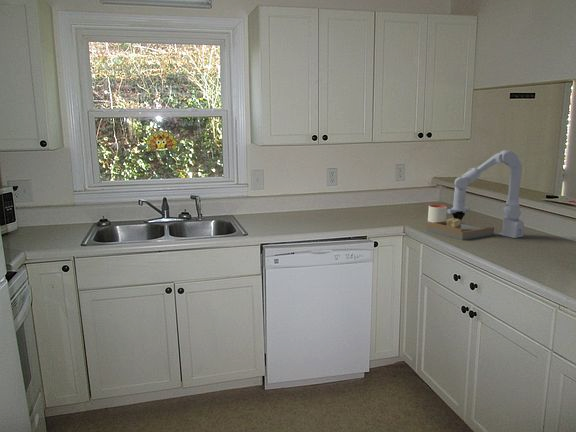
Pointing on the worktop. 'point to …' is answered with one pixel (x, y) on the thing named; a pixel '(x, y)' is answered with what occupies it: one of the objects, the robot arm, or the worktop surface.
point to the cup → (437, 213)
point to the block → (454, 223)
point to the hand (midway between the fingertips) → (457, 225)
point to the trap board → (458, 230)
